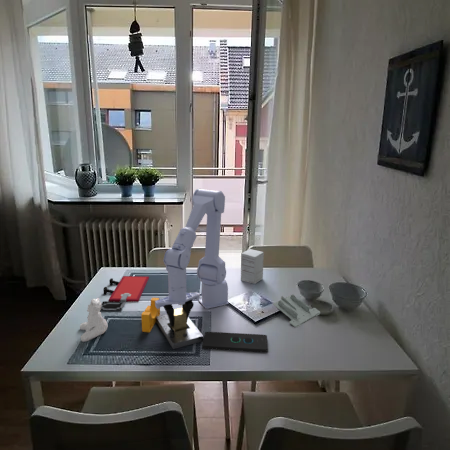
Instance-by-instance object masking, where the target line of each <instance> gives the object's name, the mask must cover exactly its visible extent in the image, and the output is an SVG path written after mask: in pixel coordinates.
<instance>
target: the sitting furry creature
mask: <svg viewBox="0 0 450 450" xmlns="http://www.w3.org/2000/svg"><path fill="white" fill-rule="evenodd" d="M101 305H102V302H101V300H100V298H99V297H97V298H91V301H90V304H88V305H87V310H86V311H87V312H88V314H87V321H84V322H82V323H80V325H79V329H80V330H81V331H84V333H83V334H82V335H81V336H80V340H81V342H83V343H85V342H89V341H91V340H93V339H95V338H97V337H99V336H101V335H103V334H104V333H105V332H107V330H108V322H107V319H106V318H104V317H103V315H102V312H101Z"/></svg>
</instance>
